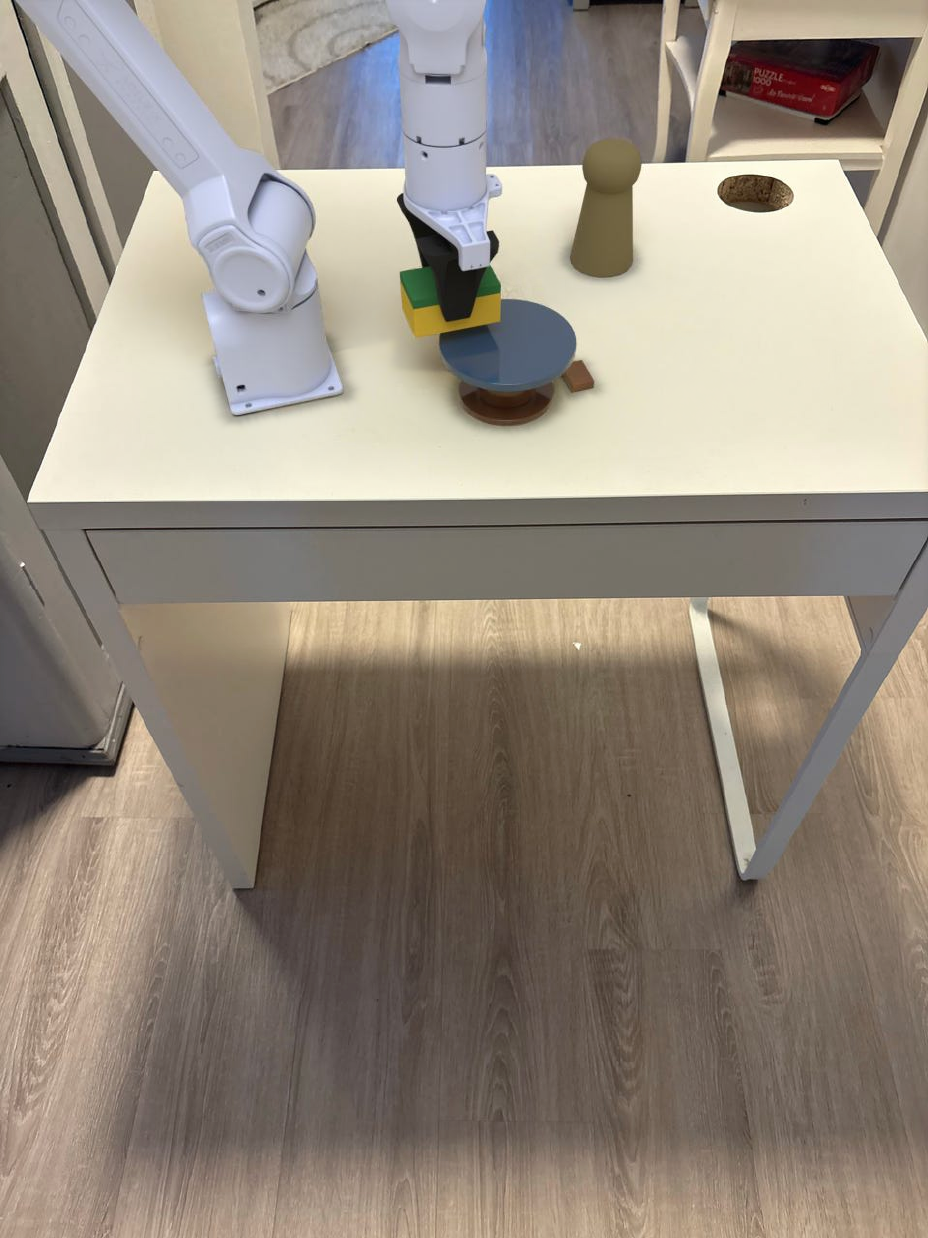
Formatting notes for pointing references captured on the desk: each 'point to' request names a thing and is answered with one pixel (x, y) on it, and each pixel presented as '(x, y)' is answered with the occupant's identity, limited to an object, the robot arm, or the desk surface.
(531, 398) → the blue-grey round pedestal
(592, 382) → the brown flat block
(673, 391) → the desk surface
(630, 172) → the olive chess pawn
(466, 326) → the sponge
